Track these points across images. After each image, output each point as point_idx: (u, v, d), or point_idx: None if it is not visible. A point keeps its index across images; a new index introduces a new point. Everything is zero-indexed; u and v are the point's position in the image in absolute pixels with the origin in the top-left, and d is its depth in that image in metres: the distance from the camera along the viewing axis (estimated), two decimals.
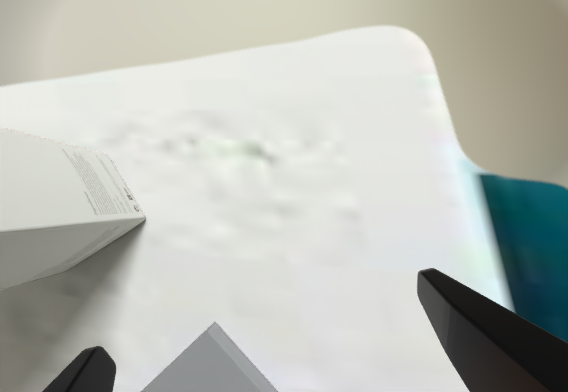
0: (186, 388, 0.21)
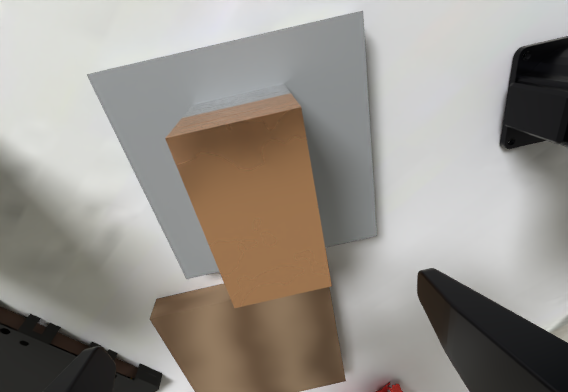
0: (153, 137, 0.17)
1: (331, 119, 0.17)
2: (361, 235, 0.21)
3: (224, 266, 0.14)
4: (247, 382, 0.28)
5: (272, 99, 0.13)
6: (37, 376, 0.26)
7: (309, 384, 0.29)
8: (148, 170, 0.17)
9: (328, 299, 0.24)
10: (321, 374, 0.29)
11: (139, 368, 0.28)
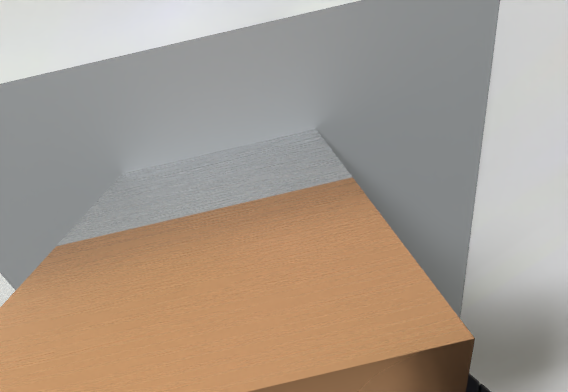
0: (46, 235, 0.08)
1: (405, 191, 0.09)
2: None
3: None
4: None
5: (306, 204, 0.04)
6: None
7: None
8: None
9: None
10: None
11: None
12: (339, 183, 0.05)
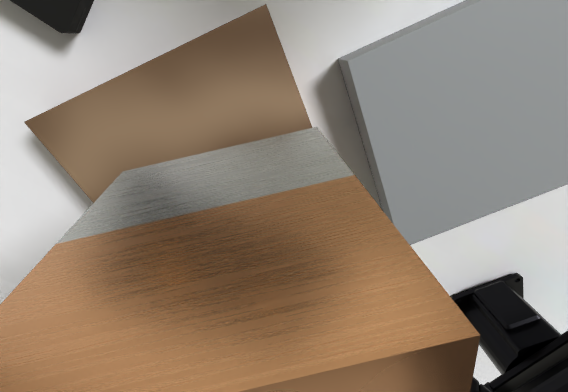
0: (539, 13, 0.16)
1: (519, 177, 0.21)
2: None
3: None
4: None
5: (308, 201, 0.04)
6: None
7: None
8: (504, 6, 0.16)
9: None
10: None
11: None
12: (341, 181, 0.05)
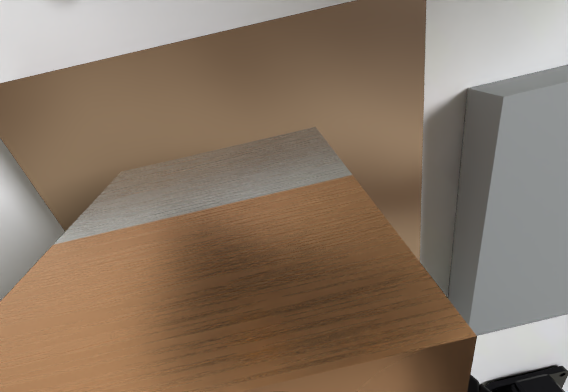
0: None
1: None
2: (474, 324, 0.17)
3: None
4: None
5: (305, 201, 0.04)
6: None
7: None
8: None
9: None
10: None
11: None
12: (339, 181, 0.05)
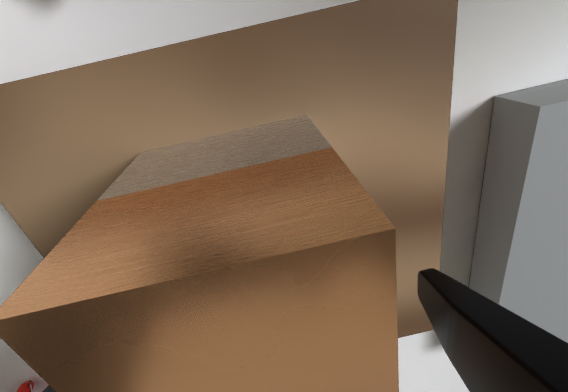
0: None
1: None
2: None
3: None
4: None
5: (294, 165, 0.06)
6: None
7: None
8: None
9: None
10: None
11: None
12: (321, 151, 0.06)
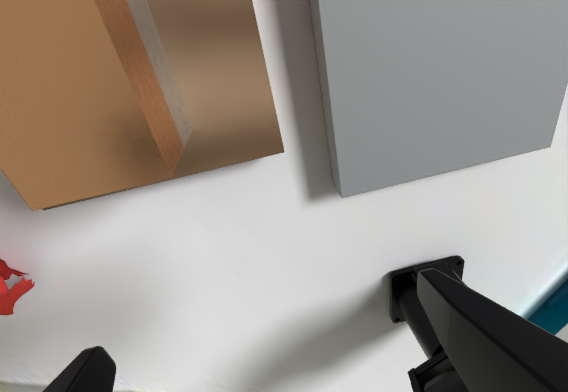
0: None
1: (481, 132, 0.18)
2: (345, 182, 0.19)
3: None
4: None
5: None
6: None
7: None
8: None
9: (245, 157, 0.17)
10: None
11: None
12: None
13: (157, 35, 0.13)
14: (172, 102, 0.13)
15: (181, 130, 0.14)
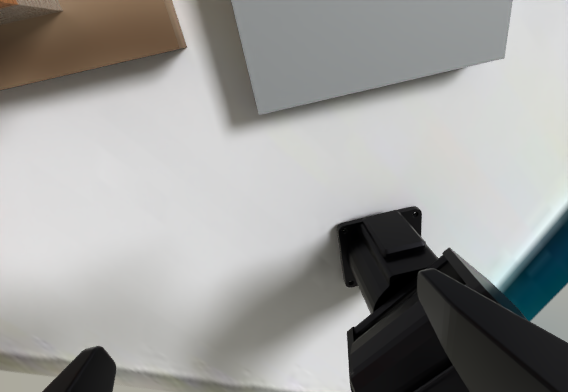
0: None
1: (417, 34, 0.16)
2: (260, 93, 0.16)
3: None
4: None
5: None
6: None
7: None
8: None
9: (132, 53, 0.15)
10: None
11: None
12: None
13: None
14: None
15: None
